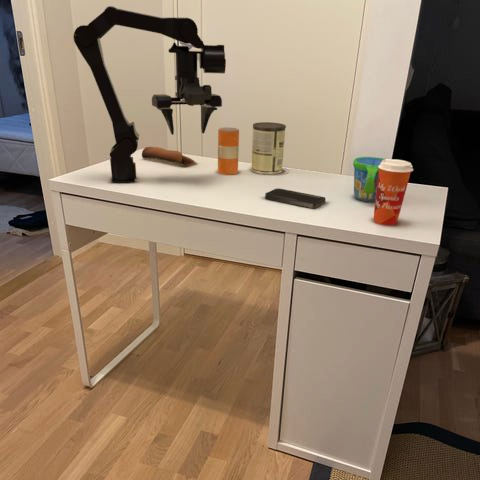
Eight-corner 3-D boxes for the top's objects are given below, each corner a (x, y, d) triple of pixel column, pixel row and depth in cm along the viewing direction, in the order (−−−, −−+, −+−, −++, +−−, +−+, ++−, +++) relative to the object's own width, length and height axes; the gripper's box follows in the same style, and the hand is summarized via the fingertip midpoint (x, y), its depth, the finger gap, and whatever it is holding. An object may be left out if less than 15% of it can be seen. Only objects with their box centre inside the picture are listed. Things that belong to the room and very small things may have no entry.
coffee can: (253, 166, 163) (255, 121, 156) (283, 168, 162) (287, 123, 155) (248, 173, 155) (250, 126, 148) (280, 175, 153) (284, 128, 146)
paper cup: (366, 223, 116) (377, 163, 109) (371, 214, 122) (381, 157, 115) (400, 228, 114) (413, 167, 107) (403, 219, 120) (415, 161, 113)
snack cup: (383, 209, 127) (390, 169, 121) (343, 203, 130) (348, 164, 125) (390, 194, 139) (397, 157, 134) (353, 189, 142) (359, 153, 137)
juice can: (228, 175, 151) (230, 131, 144) (213, 172, 154) (213, 128, 148) (242, 172, 155) (243, 129, 149) (226, 168, 159) (227, 126, 152)
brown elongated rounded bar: (198, 161, 163) (191, 145, 158) (187, 175, 161) (180, 159, 156) (158, 154, 172) (150, 138, 166) (146, 167, 169) (138, 151, 164)
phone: (277, 188, 136) (327, 197, 129) (276, 192, 137) (326, 201, 130) (263, 194, 130) (315, 204, 124) (263, 198, 131) (314, 208, 124)
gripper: (162, 74, 121) (164, 140, 129) (230, 75, 128) (229, 137, 136) (149, 71, 129) (152, 133, 137) (214, 72, 137) (214, 130, 144)
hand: (187, 133), depth 139 cm, fingers open, 9 cm apart
